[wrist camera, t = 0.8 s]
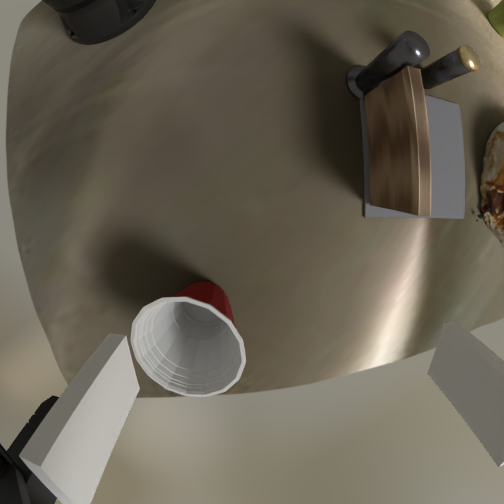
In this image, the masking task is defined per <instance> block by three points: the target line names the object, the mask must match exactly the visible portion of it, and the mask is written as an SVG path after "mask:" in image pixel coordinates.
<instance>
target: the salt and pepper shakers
mask: <svg viewBox="0 0 504 504" xmlns="http://www.w3.org/2000/svg"><path fill="white" fill-rule="evenodd" d="M429 54H430V50H429V47H428V44H427V43H426V41H425V40H424V39H423V38H422V37H421V36H420V35H419V34H417V33H415V32H412V31H406V32H404V33H403V34H402V35H400V36H399V37H398V38H397V39H396V40H395V41H394V42H392V43H391V44H390V45H389V46H388V47H387V48H386V49H385V50H384V51H382V52H381V53H380V54H379V55H378V56H377V57H376V58H375V59H374V60H373V61H371V62H370V63H369V64H368V65H367V66H356V67H354V68H352V69H351V70H350V71H349V72H348V74H347V77H346V83H347V87H348V89H349V91H350V92H351V93H352V94H353V95H354V96H355V97H356V98H357V99H362V100H365V97H364V96H365V95H367V94H368V93H370V92H371V91H372V90H374V89H375V88H377V87H378V86H380V85H381V84H383V83H384V82H385V81H387V80H388V79H390V78H391V77H393V76H394V75H396V74H397V73H399V72H400V71H402V69H404V68H405V67H407V66H410V67H413V66H415V65H417V64H418V63H420V62H422V61H423V60H425V59H426V58H428V57H429ZM480 66H481V65H480V60H479V57H478V56H477V54H476V52H475V51H474V50H473V49H472V48H471V47H469V46H468V45H462V46H460V47H459V48H458V49H457V50H455V51H453V52H451V53H449V54H447V55H446V56H444V57H442V58H440V59H438V60H437V61H435V62H433V63H431V64H429V65H428V66H426V67H424V68H423V69H421V70H420V72H421V77H422V82H423V88H425V89H431V88H433V87H435V86H438V85H440V84H442V83H445V82H447V81H449V80H452V79H454V78H456V77H459V76H461V75H464V74H466V73H469V72H471V71H476V70H478V69H480Z"/></svg>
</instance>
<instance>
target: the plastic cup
mask: <svg viewBox="0 0 504 504" xmlns="http://www.w3.org/2000/svg"><path fill="white" fill-rule="evenodd" d="M131 344H132V348H133V351H134V354H135V357H136V360H137V361H138V363H139V364H140V365H141V367H142V368H143V369H144V371H145V372H146V373H147V375H148V376H149V377H150V378H152V379H153V380H154V381H156V382H157V383H158V384H160V385H161V386H163V387H164V388H165V389H168V390H170V391H173V392H176V393H179V394H181V395H184V396H192V397H208V396H212V395H216V394H219V393H222V392H225V391H227V390H228V389H229V388H230V387H231V386H232V385H233V384H235V383H236V382H237V381H238V380H239V379H240V377H241V374H242V371H243V369H244V366H245V363H246V358H245V350H244V342H243V339H242V337H241V336H240V334H239V333H238V331H237V329H236V326H235V324H234V319H233V315H232V311H231V306H230V305H229V301H228V298H227V296H226V294H225V293H224V291H223V290H222V289H221V288H220V287H218V286H217V285H216V284H214V283H211V282H207V281H202V282H195V283H193V284H191V285H189V286H187V287H186V288H185V289H183V290H181V291H180V292H178V293H177V294H175V295H174V296H172V297H163V298H160V299H158V300H156V301H154V302H152V303H150V304H148V305H146V306H144V307H143V308H142V310H141V311H140V312H139V314H138V315H137V317H136V318H135V320H134V321H133V323H132V332H131Z"/></svg>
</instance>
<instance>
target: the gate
mask: <svg viewBox="0 0 504 504" xmlns="http://www.w3.org/2000/svg"><path fill="white" fill-rule="evenodd" d="M364 97H365V107H366V118H367V131H368V147H369V172H370V205H371V206H376V207H381V208H386V209H390V210H395V211H400V212H404V213H408V214H412V215H416V216H431V155H430V139H429V127H428V118H427V109H426V102H425V95H424V88H423V82H422V77H421V72H420V69H418V68H414V67H410V66H407V67H405V68H404V69H402V71H400V72H399V73H397V74H396V75H394V76H393V77H391V78H390V79H388V80H387V81H385V82H384V83H383V84H381V85H380V86H378V87H377V88H375V89H374V90H372V91H371V92H370V93H368V94H367V95H365V96H364Z"/></svg>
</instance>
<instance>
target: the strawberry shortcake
mask: <svg viewBox="0 0 504 504" xmlns="http://www.w3.org/2000/svg"><path fill="white" fill-rule="evenodd" d="M483 166H484V168H482V170H483V173H481V186H480V191H481V195H482V202H481V210H482V214H483V216H482V215H477V216H478V217H479V218H480V219H481V218H483V220H484V222H485V224H486V225H487V227H488V228H489V229H490V230H491V231H492V232H493V233H494V235H495V236H496V237H498V238H499V240H501V241H502V242H501V241H500V242H501V245H502V246H503V248H504V122H502V123H501V124H499V125H498V126H497V127H496V128H495V130H494V131H492V133H491V136H490V138H489V140H488V141H487V143H486V150H485V154H484V158H483ZM476 221H478V220H476Z"/></svg>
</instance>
